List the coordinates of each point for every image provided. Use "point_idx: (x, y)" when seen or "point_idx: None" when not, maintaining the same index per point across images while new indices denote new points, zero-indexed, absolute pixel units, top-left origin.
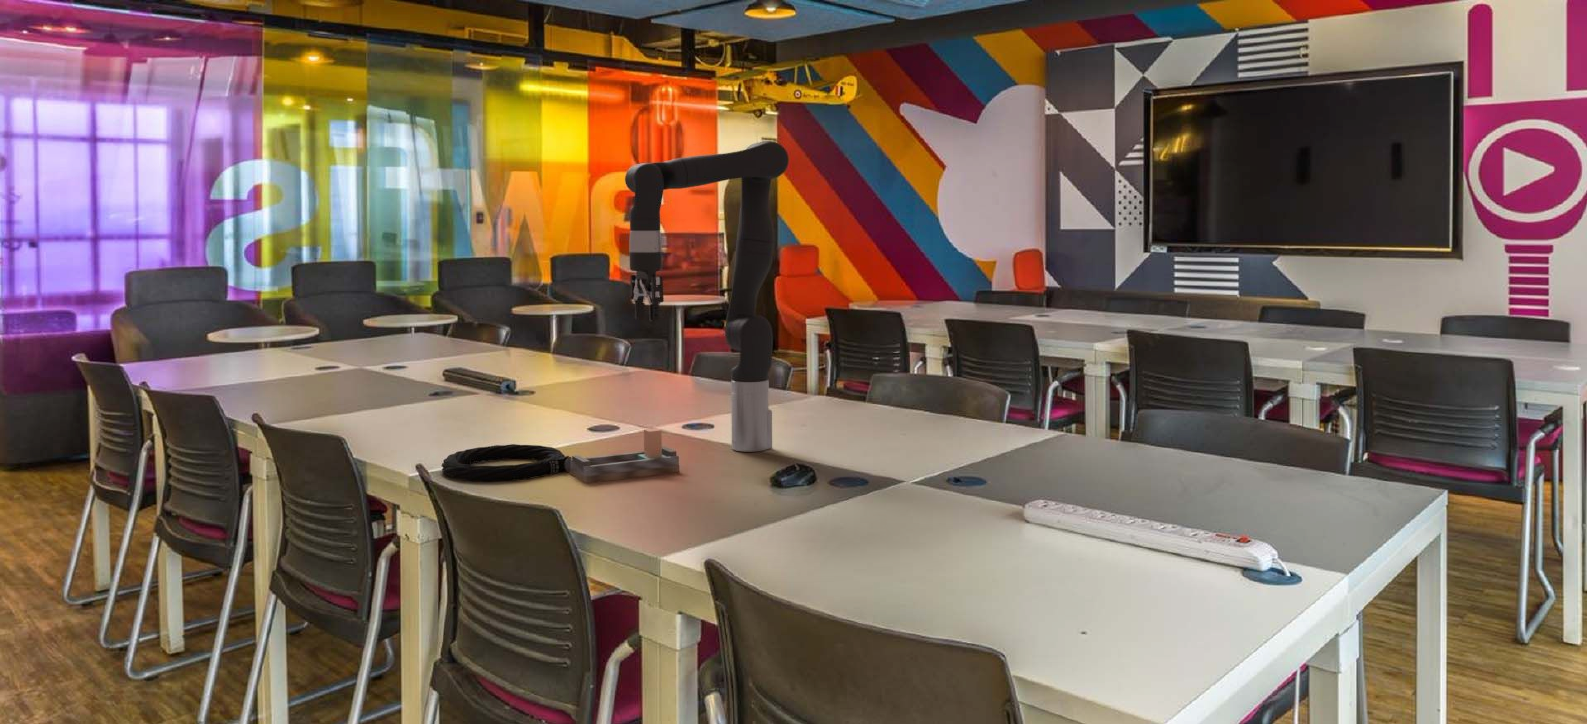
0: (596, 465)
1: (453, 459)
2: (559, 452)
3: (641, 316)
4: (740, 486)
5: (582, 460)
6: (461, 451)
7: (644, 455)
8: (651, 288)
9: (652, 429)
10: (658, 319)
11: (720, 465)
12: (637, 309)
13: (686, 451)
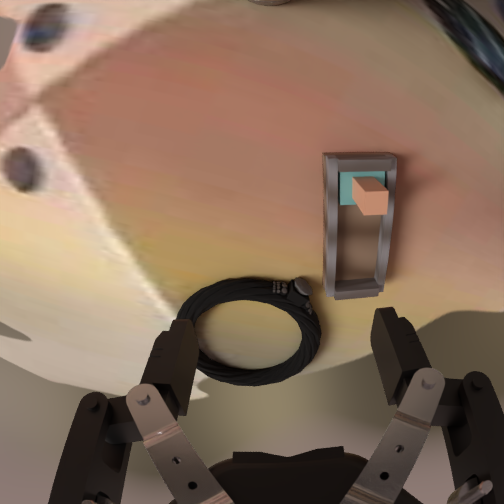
0: (382, 278)
1: (237, 379)
2: (257, 293)
3: (192, 337)
4: (490, 126)
5: (370, 295)
6: (202, 370)
7: (352, 197)
8: (457, 480)
9: (372, 201)
10: (392, 310)
11: (377, 76)
12: (188, 381)
13: (239, 79)
